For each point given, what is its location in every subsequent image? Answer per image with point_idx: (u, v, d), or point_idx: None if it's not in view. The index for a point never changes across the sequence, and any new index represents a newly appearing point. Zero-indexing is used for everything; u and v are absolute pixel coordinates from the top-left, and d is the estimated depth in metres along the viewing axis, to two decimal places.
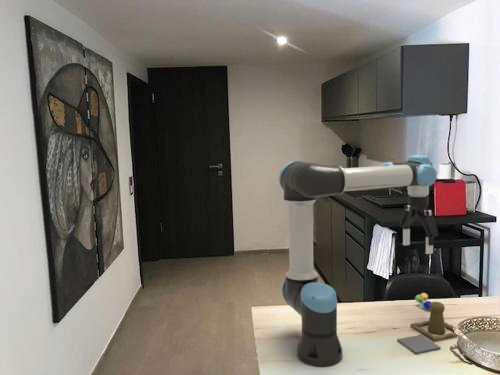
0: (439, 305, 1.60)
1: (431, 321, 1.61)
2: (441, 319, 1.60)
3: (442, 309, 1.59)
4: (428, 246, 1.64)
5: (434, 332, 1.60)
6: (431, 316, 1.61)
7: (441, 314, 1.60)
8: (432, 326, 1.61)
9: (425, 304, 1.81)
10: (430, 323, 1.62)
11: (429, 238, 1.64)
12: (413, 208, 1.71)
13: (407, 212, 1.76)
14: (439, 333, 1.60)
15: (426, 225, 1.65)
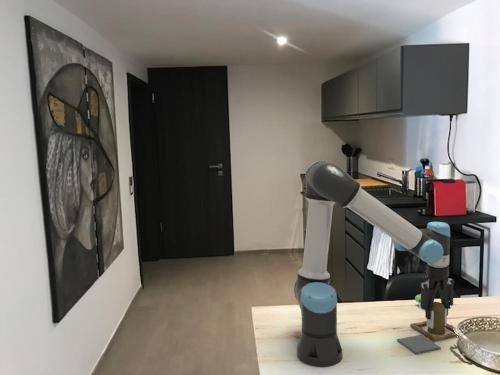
0: (439, 305, 1.60)
1: None
2: (441, 319, 1.60)
3: (442, 309, 1.59)
4: (427, 318, 1.62)
5: (434, 332, 1.60)
6: None
7: (441, 314, 1.60)
8: None
9: None
10: None
11: None
12: None
13: (447, 285, 1.62)
14: (439, 333, 1.60)
15: (428, 297, 1.61)
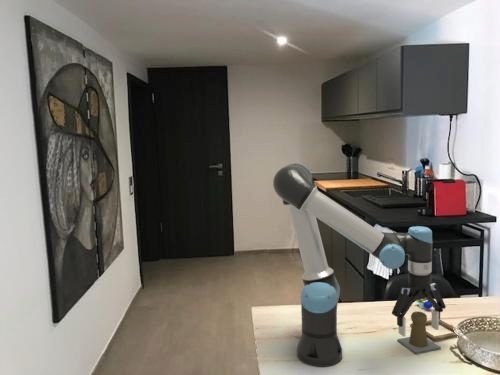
0: (421, 315, 1.50)
1: (413, 332, 1.51)
2: (423, 330, 1.50)
3: (424, 320, 1.49)
4: (399, 326, 1.50)
5: (416, 344, 1.50)
6: (413, 327, 1.51)
7: (423, 325, 1.50)
8: (414, 338, 1.51)
9: (425, 304, 1.81)
10: (412, 334, 1.52)
11: None
12: None
13: (433, 291, 1.52)
14: (421, 345, 1.50)
15: (404, 304, 1.50)
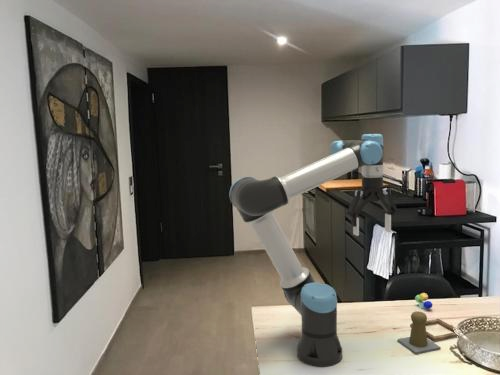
0: (421, 315, 1.50)
1: (413, 332, 1.51)
2: (423, 330, 1.50)
3: (424, 320, 1.49)
4: (354, 227, 1.61)
5: (416, 344, 1.50)
6: (413, 327, 1.51)
7: (423, 325, 1.50)
8: (414, 338, 1.51)
9: (425, 304, 1.81)
10: (412, 334, 1.52)
11: None
12: None
13: (386, 195, 1.64)
14: (421, 345, 1.50)
15: (357, 206, 1.61)
